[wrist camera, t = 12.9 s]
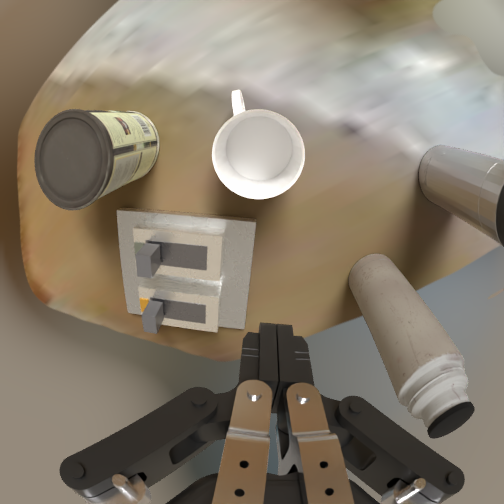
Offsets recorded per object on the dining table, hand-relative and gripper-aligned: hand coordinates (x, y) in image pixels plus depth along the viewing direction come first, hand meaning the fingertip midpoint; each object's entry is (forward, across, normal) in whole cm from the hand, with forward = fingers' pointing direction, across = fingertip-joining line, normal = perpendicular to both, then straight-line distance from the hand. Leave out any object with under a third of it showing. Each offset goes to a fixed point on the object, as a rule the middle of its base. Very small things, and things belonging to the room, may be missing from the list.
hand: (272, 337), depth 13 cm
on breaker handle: (+22, +14, +7) cm, 27 cm away
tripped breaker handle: (+22, +14, +16) cm, 31 cm away
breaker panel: (+27, +11, +12) cm, 31 cm away
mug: (+27, +2, -8) cm, 28 cm away
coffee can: (+27, +20, -6) cm, 34 cm away
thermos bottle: (+27, -18, +10) cm, 34 cm away
